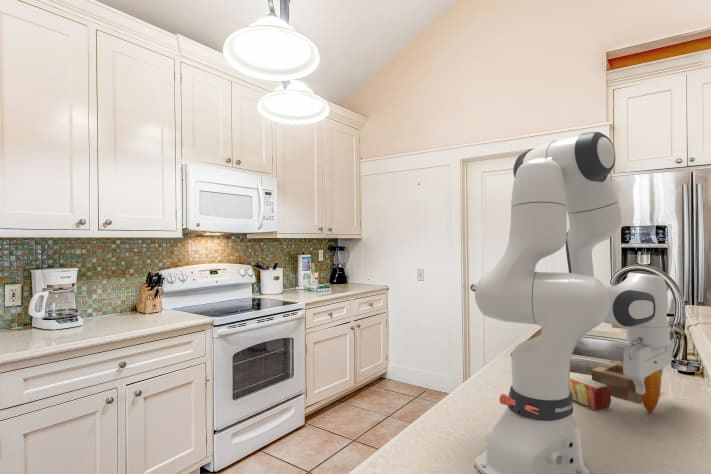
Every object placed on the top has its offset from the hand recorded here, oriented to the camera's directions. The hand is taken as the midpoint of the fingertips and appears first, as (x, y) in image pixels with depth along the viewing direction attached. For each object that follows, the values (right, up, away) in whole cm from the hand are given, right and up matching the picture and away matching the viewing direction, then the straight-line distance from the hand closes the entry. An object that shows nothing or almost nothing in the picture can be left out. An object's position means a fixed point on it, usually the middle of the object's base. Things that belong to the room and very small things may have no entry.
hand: (648, 388), depth 103 cm
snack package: (-14, -7, +12) cm, 19 cm away
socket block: (+3, -6, +14) cm, 15 cm away
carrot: (0, -6, 0) cm, 6 cm away
